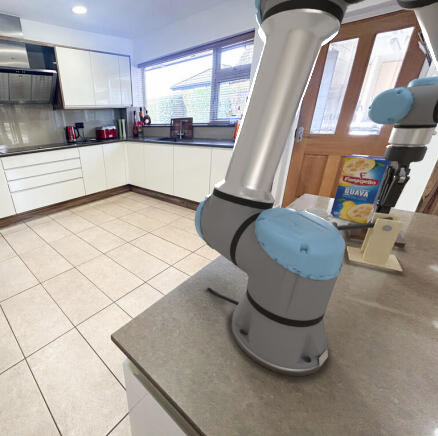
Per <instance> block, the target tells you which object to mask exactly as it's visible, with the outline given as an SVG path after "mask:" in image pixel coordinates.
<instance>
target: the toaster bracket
mask: <svg viewBox="0 0 438 436" xmlns="http://www.w3.org/2000/svg"><path fill="white" fill-rule="evenodd" d="M389 217H392V218H393V220H388V219H381V218H389ZM399 218H400V216H399V215H398V214H391V213H389V214H383V213H375V211H374V214H373V217H372V219H371V220H370V223H372V222H375V225H374V228H369V229H368V231H367V234H366V237H365V240H363V242H362V245H361V247H354V246H350V245H349V246H348V245H347V246H346V250H347V255H348V260H349V261H350V262H355V263H360V264H365V265H369V266H374V267H378V268H379V267H380V268H383V269H389V270H392V271H398V272H403V269H402V267H401V264H400V262H399V261H398V259H397V256H396V254H391V253H392V250H393V248H394V247H395V246H394V243H395V241H396V239H397V236H398V234H400V231H401V229H402V226H403V225H404V222H403V221H402V220H399ZM376 219H377V220H376Z"/></svg>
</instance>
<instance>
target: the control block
mask: <svg viewBox="0 0 438 436" xmlns="http://www.w3.org/2000/svg"><path fill="white" fill-rule="evenodd" d="M350 224H351V223H347V225H350ZM368 229H369V228H362V229H350V230H347V234H348V238H349V239H354V240H358V241H364V240H365V237H366V234H367V231H368ZM393 247H398V248H405V247H406V242H405V240H404V238H403V237H402V235H401V234H400V233H399V234H398V236H397V239H396V241H395V243H394V246H393Z"/></svg>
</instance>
